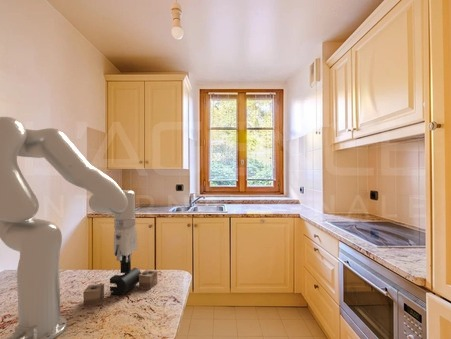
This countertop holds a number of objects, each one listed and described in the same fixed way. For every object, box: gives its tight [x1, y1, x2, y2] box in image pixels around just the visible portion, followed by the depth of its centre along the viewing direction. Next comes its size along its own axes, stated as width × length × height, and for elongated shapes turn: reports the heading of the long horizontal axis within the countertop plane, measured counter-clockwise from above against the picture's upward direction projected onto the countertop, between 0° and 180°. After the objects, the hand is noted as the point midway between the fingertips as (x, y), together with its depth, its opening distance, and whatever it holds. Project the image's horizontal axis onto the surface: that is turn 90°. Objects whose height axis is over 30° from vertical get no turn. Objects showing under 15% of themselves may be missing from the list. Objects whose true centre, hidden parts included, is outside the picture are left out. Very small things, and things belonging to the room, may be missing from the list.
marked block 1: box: [82, 283, 105, 308], centre depth 88 cm, size 5×5×5 cm
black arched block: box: [109, 267, 142, 297], centre depth 96 cm, size 10×7×7 cm
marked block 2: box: [138, 269, 158, 290], centre depth 99 cm, size 5×5×5 cm
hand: (125, 271), depth 96 cm, fingers closed
